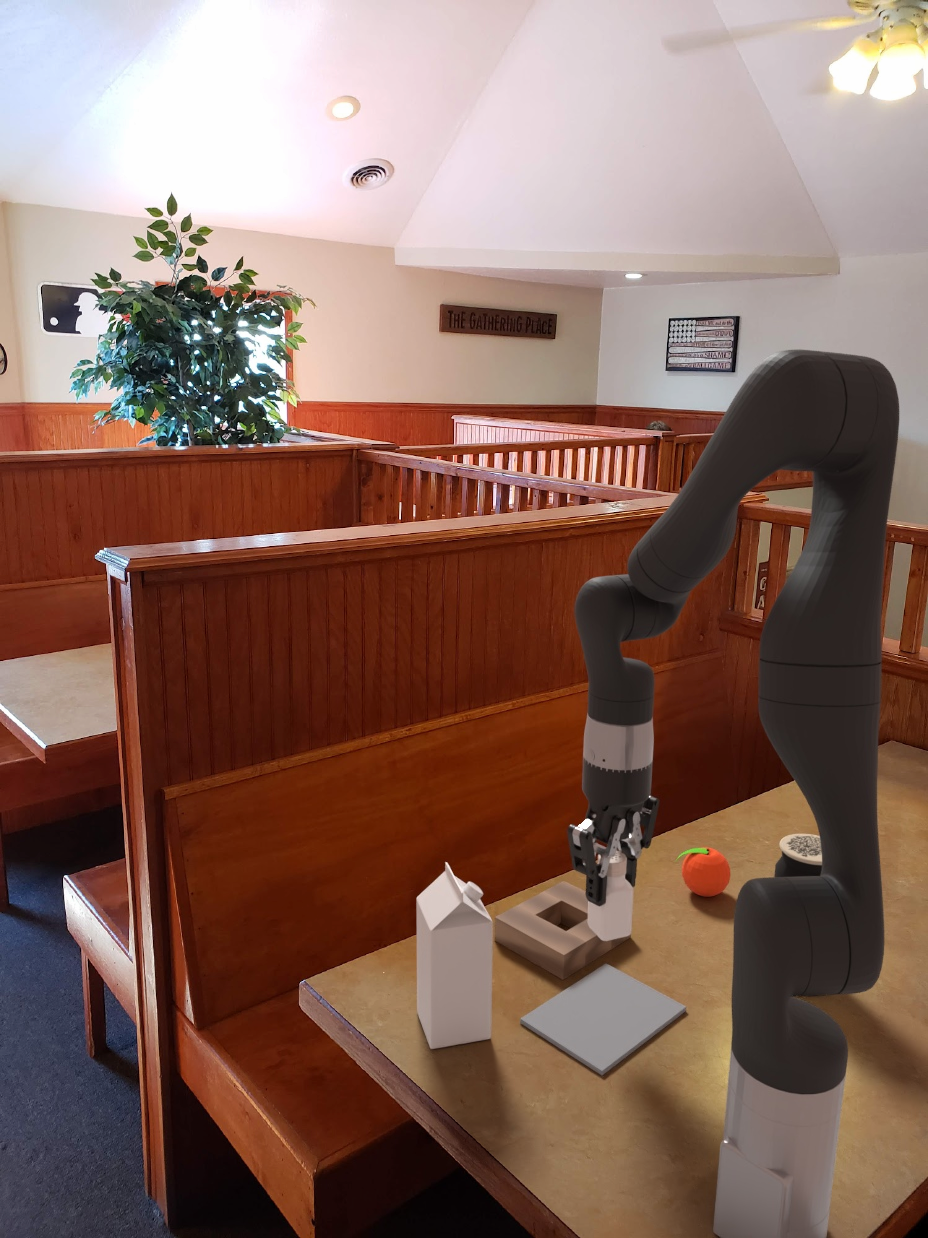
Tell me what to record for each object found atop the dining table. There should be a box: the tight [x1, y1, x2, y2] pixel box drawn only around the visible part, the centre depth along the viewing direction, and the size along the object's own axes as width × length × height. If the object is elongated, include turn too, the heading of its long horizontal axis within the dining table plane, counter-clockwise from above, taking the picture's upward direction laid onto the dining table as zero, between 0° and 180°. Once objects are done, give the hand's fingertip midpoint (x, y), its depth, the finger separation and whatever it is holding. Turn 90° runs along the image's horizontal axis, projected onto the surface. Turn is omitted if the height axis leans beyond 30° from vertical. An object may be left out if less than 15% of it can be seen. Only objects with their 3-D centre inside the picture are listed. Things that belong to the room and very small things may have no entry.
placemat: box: [519, 963, 687, 1076], centre depth 112 cm, size 16×12×1 cm
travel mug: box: [773, 833, 822, 877], centre depth 118 cm, size 8×8×18 cm
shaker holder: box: [494, 880, 632, 981], centre depth 128 cm, size 14×12×4 cm
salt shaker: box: [588, 850, 634, 941], centre depth 108 cm, size 4×4×10 cm
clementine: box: [674, 846, 732, 898], centre depth 139 cm, size 8×7×7 cm
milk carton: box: [416, 861, 494, 1050], centre depth 108 cm, size 7×7×19 cm
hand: (611, 893), depth 108 cm, fingers closed on salt shaker, 4 cm apart
